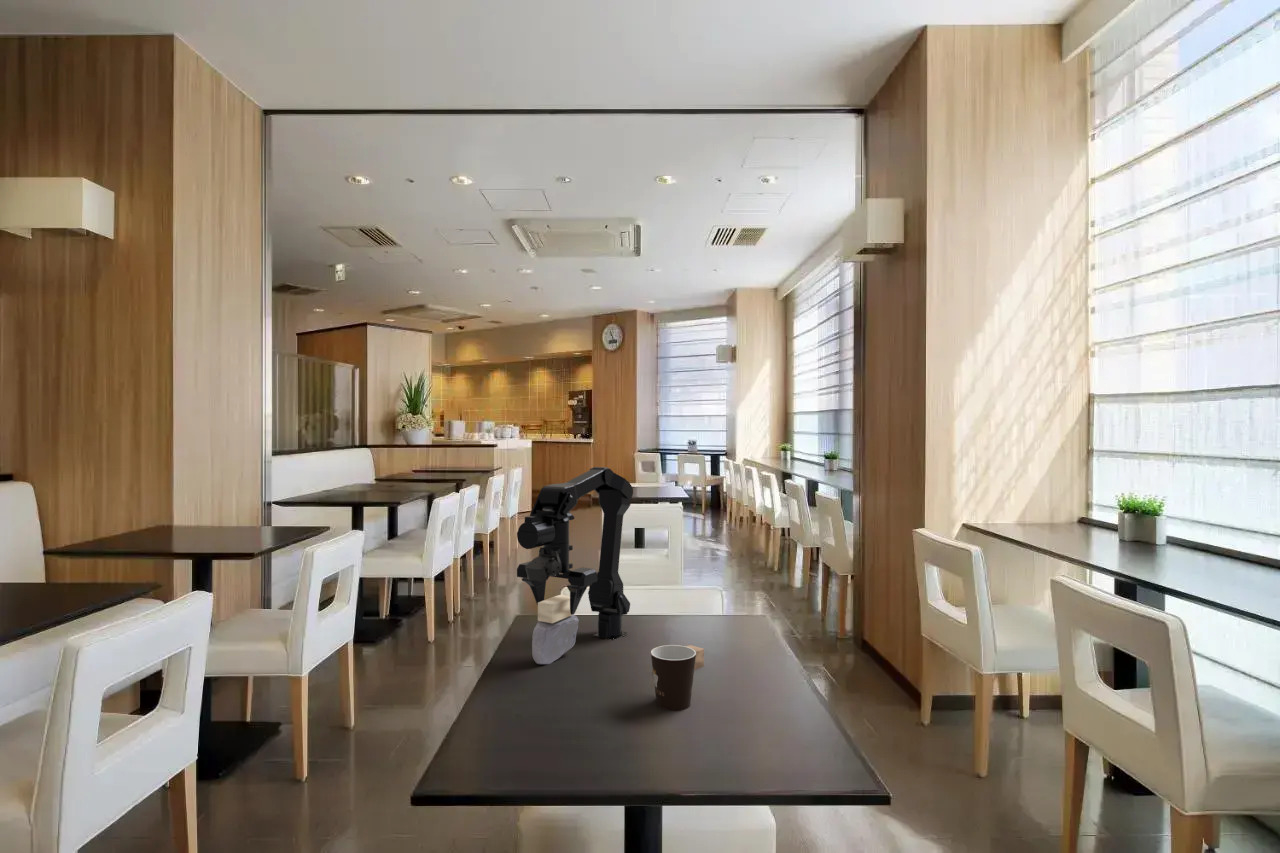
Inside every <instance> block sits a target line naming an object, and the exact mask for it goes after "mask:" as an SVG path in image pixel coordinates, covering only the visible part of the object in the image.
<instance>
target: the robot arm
mask: <svg viewBox="0 0 1280 853" xmlns="http://www.w3.org/2000/svg"><path fill="white" fill-rule="evenodd" d="M539 491H540V492H539V494H538V496H537V498H536V500H535V503H534V504H533V507H532V509H531V512H530V514H529V516H524V522H523V523H522V524H521V525H519V527H518V530H517V532H516V538H517V541H518V544H519V545H520V546H521V547H522V548H523V549H526V550H531V549H536V548H539V550H538V556H536V557H534V558H533V559H532V560H529V561H525V562H522V563H519V564H518V566H517V568H516V578H521V581H522V582H525V584H527V585H528V586H529V587H530V590H531V592H532V595H533V598H534V600H535V604H536V606H537V607H538V602H541V601H544V600H545V593H546V586H547V581H548V580H549V578H550V577H551V578H560V579H566V580H567V582H568V583H569V584H568V585H567V586H566V588H567V590H568V591H569V596H570V613H571V615H573V614H574V615H576V612H577V609H578V607H579V604H580V602H581V601H582V597H583V595H584V594H585V592H586V590H587V588H588V592H587V595H588V600H589V601H588V602H589V605H590V610H591V612H592V613H593V612H595V613H597V614H598V621H597V632H596V633H595V634H593V637H594V636H597V637H596V638H600V637H602V638H601V639H605V638H607V639H606V640H610V639H613V638H614V639H616V640H618V639H620V638H622V637H621V636H623V635H625V634H627V635H628V632H627V631H623V616H625V615H626V616H627V615H628V613H629V612H630V609H631V608H630V607H631V602H630V601H629V599H628V598H627V596H626V594H624V583H623V580H622V578H621V576H620V574H619V567H620V566H619V565H620V557H621V556H620V555H621V554H620V553H621V543H622V533H623V525H624V524H623V522H624V515H625V514H626V512H627V511H628V509H629V508H630V506H631V504H632V503H631V502H632V497H633V494H634V488H633V486H632V485H631V483H630V482H629V481H628V480H627V479H626V478H624V477H623V476H621V475H619V474H617V473H616V472H614V471H613V470H612V469H611V468H609V467H607V466H606V467H605V466H603V467H602V466H594V467H591V468H589V470H588V471H586V472H583V473H581V474H580V475H578V476H576V477H574V478H572V479H570V480H567V481H566V482H562V483H552V484H547V485H544V486H542V488H541V489H540V490H539ZM592 491H594V492H596V494H598V504H599V507H600V508H601V510H602V512H603V520H602V531H601V542H600V554H599V563H598V564H599V565H598V570H596V569H595V568H590V567H589V568H588V567H579V568H575V569H573V566H574V565H573V563H571V562H570V551H573V545H572V544H570V521H573V520H575V516H574V515H573V514H572V513H571V512H570V511H571V510H573V508H575V507H576V506H577V505H578V500H579V499H580V498H582V497H583V496H585V495H588V494H589V493H591V492H592ZM571 569H572V570H571ZM597 571H598V572H597ZM625 636H626V635H625ZM619 637H620V638H619ZM623 637H624V636H623ZM617 638H618V639H617Z"/></svg>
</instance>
